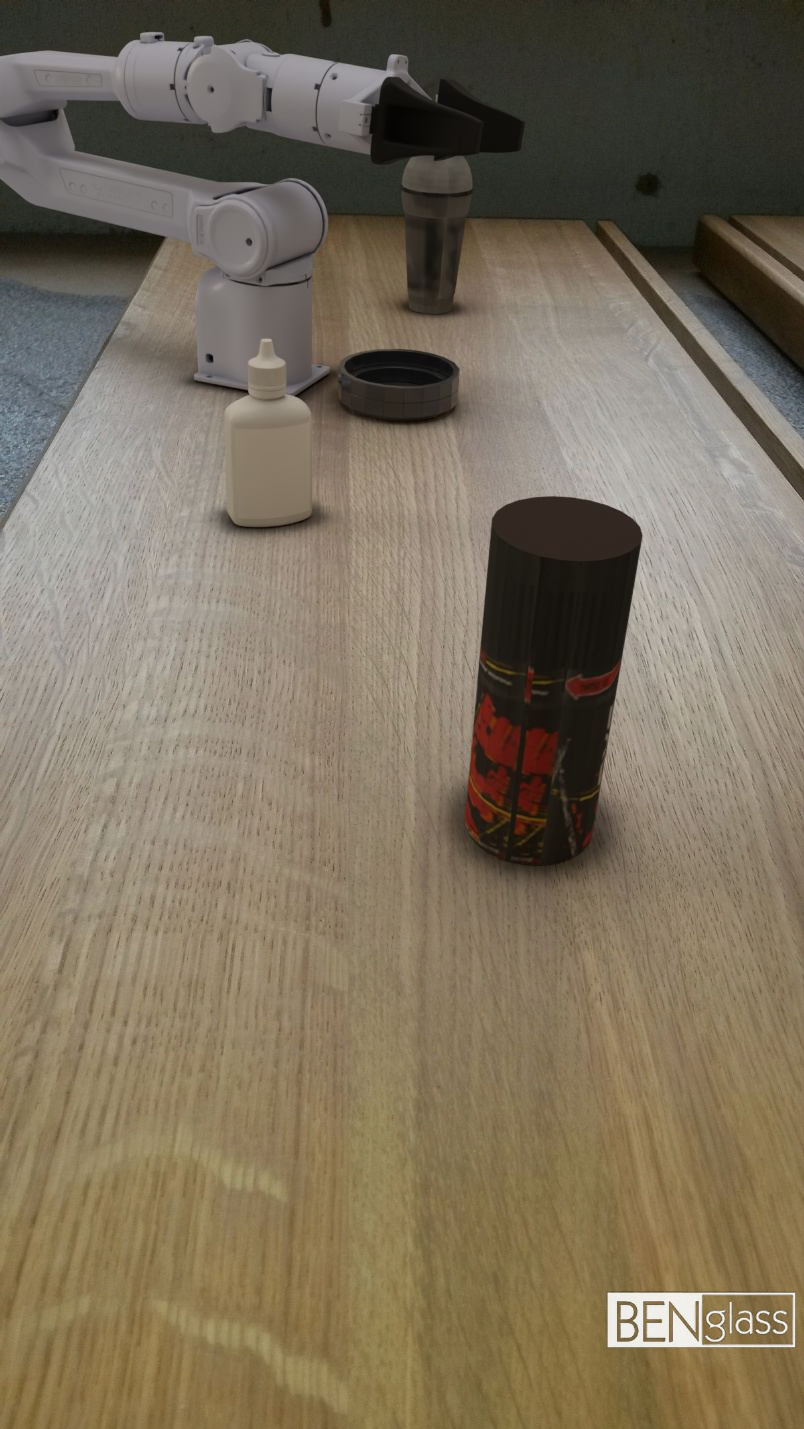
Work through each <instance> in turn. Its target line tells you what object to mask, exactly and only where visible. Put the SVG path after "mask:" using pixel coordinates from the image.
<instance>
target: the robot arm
mask: <svg viewBox="0 0 804 1429" xmlns="http://www.w3.org/2000/svg"><path fill="white" fill-rule="evenodd" d="M139 37H140V38H139V39H134V40H131V41H129V42H128V43H126V44H125V46H124V47H123V48H122V49H121V50H120V52H119V54H118V56H111V55H110V56H109V55H99V54H89V53H78V52H68V51H67V52H66V51H57V50H38V51H31V52H30V51H28V52H21V53H13V54H6V55H1V56H0V180H1V181H2V182H3V183H5V184H6V185H7V186H8V187H9V188H10V189H12V190H13V191H14V192H16V194H18V195H19V196H20V197H22V198H23V199H24V200H25V201H26V202H28V203H29V204H32V205H34V206H38V207H42V208H45V209H49V210H54V211H58V212H61V213H66V214H70V215H75V216H79V217H83V218H86V219H87V218H88V219H91V220H95V221H99V222H103V223H107V224H111V225H115V226H120V227H125V228H128V229H132V230H136V231H140V232H145V233H149V234H153V235H157V236H162V237H166V238H170V239H172V240H173V239H174V240H178V241H182V242H185V243H190V246H191V250H192V253H193V255H194V256H195V257H197V258H198V257H199V258H203V259H206V260H208V261H211V262H212V263H214V264H215V265H214V266H211V267H209V268H207V269H206V270H205V272H204V273H203V274H202V276H201V277H200V279H199V281H198V284H197V288H196V292H195V300H194V315H195V316H194V317H195V337H196V356H197V358H196V359H197V372H195V373H194V374H193V380H194V381H197V382H201V383H206V384H213V385H218V386H222V387H229V388H232V389H233V388H234V389H239V390H245V391H248V361H249V360H250V359H252V358H255V357H257V355H258V354H259V348H260V342H261V339H271V340H272V343H273V347H274V352H275V355H276V356H277V357H278V358H281V359H283V360H284V361H285V362H286V394H287V395H291V396H294V397H296V395H298V394H300V393H301V392H302V391H304V390H306V389H307V388H309V387H310V386H311V385H313V384H315V383H316V382H318V381H319V380H321V379H322V378H324V377H325V376H327V375H329V374H330V373H331V368H330V366H327V365H322V364H316V363H313V269H314V268H315V254H317V253H318V251H320V249H321V248H322V247H323V245H324V243H325V241H326V239H327V235H328V233H329V232H328V230H329V216H328V211H327V208H326V205H325V202H324V200H323V198H322V196H321V195H320V194H319V192H318V191H317V189H315V187H313V186H312V185H311V184H309V183H308V182H306V181H304V180H302V179H299V178H296V177H295V178H293V177H291V178H284V179H282V180H279V181H276V182H274V183H271V184H270V183H269V184H265V183H260V182H252V181H249V182H248V181H243V182H241V181H236V182H235V181H233V182H232V181H231V182H229V181H228V182H227V181H226V182H225V181H221V182H220V181H215V180H210V179H205V178H200V177H196V176H192V175H187V174H184V173H183V174H182V173H178V172H173V171H169V170H164V169H160V168H154V167H151V166H146V165H141V164H137V163H133V162H128V161H125V160H124V161H123V160H118V159H114V158H110V157H105V156H100V155H96V154H91V153H87V152H83V151H77V150H76V144H75V142H74V139H73V135H72V134H71V133H72V132H71V130H70V127H69V123H68V120H67V118H66V114H65V110H64V109H65V108H66V107H67V105H68V101H90V102H91V101H92V102H93V101H98V102H120V104H121V105H122V107H123V108H124V110H125V111H126V112H127V113H128V115H129V116H131V117H133V118H134V119H136V120H139V121H151V122H162V123H163V122H164V123H178V124H193V125H207V126H208V127H210V130H211V131H212V133H213V134H223V133H228V132H231V131H233V130H235V129H237V128H242V127H247V128H248V129H252V130H257V131H262V132H267V133H270V134H271V133H272V134H274V135H276V136H279V137H283V138H288V139H292V140H295V141H296V140H297V141H301V142H306V143H311V144H316V145H321V146H325V147H329V148H334V149H340V150H345V151H350V152H354V153H359V154H364V155H368V156H370V160H371V162H372V164H374V165H377V166H388V165H391V164H394V163H397V162H399V161H403V160H406V159H411V157H416V156H434V161H441V160H446V159H449V158H452V157H455V156H463V157H464V156H475V155H479V154H480V153H483V154H484V153H487V154H489V153H491V154H505V153H506V154H507V153H515V152H516V153H517V152H521V149H522V145H523V139H524V138H523V137H524V132H525V126H526V121H525V120H524V119H522V118H520V117H518V116H517V115H515V114H512V113H510V112H508V111H505V110H503V109H500V108H498V107H496V106H494V105H491V104H489V103H487V102H485V101H484V100H481V99H480V98H478V97H477V96H476V95H474V94H472V93H471V92H470V91H469V90H468V89H467V88H466V87H465V86H464V85H463V84H461V83H460V82H459V81H457V80H455V79H450V78H440V79H439V86H438V91H437V95H438V99H437V102H436V100H433V99H432V98H431V97H430V96H429V95H428V94H427V93H426V92H425V91H424V90H423V89H422V88H421V87H420V85H419V84H418V83H417V82H416V81H415V80H414V79H413V78H412V76H411V75H410V74H409V71H408V70H409V57H408V56H406V55H403V54H393V53H392V54H390V55H389V56H388V58H387V64H386V69H385V70H384V69H378V68H377V69H376V68H371V67H366V66H360V65H355V64H350V63H344V62H339V61H334V60H328V59H323V58H316V57H311V56H305V55H300V54H294V53H285V54H281V53H278V52H275V51H273V50H272V49H271V48H269V46H267V45H265V44H262V43H260V42H254V41H252V40H251V39H247V38H246V39H242V40H240V41H237V42H235V43H228V44H220V45H218V44H215V39H214V38H213V36H211V35H199V36H198V35H197V36H195V37H194V39H193V42H192V41H191V42H190V41H169V40H165V34H164V33H163V32H160V31H147V32H141V33H140V34H139Z"/></svg>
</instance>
